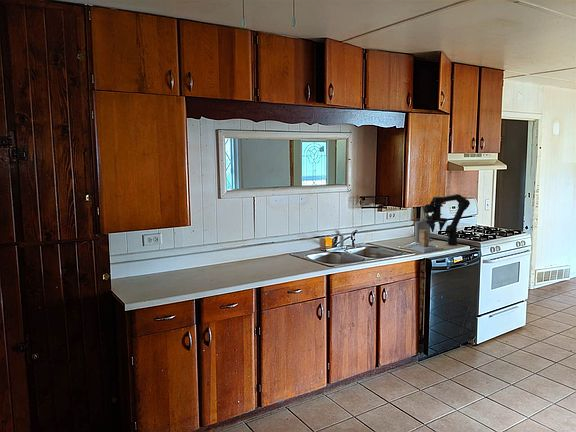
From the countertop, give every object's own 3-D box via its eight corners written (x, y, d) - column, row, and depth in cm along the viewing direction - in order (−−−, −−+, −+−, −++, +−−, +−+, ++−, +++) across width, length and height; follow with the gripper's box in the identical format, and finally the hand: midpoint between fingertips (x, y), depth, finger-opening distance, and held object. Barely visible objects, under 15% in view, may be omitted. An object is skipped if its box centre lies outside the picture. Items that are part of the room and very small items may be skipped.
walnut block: (423, 245, 370) (423, 229, 368) (428, 246, 365) (428, 230, 364) (419, 246, 367) (419, 230, 365) (423, 247, 363) (424, 230, 361)
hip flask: (416, 242, 395) (416, 219, 393) (413, 242, 399) (413, 218, 396) (430, 240, 402) (431, 217, 399) (427, 240, 406) (427, 217, 403)
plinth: (423, 248, 375) (423, 244, 374) (435, 250, 365) (435, 246, 364) (412, 250, 369) (412, 246, 368) (424, 252, 359) (424, 248, 358)
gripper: (436, 210, 389) (436, 228, 391) (421, 212, 379) (420, 231, 381) (447, 211, 380) (447, 230, 382) (432, 213, 370) (431, 233, 372)
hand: (436, 231), depth 379 cm, fingers open, 9 cm apart
